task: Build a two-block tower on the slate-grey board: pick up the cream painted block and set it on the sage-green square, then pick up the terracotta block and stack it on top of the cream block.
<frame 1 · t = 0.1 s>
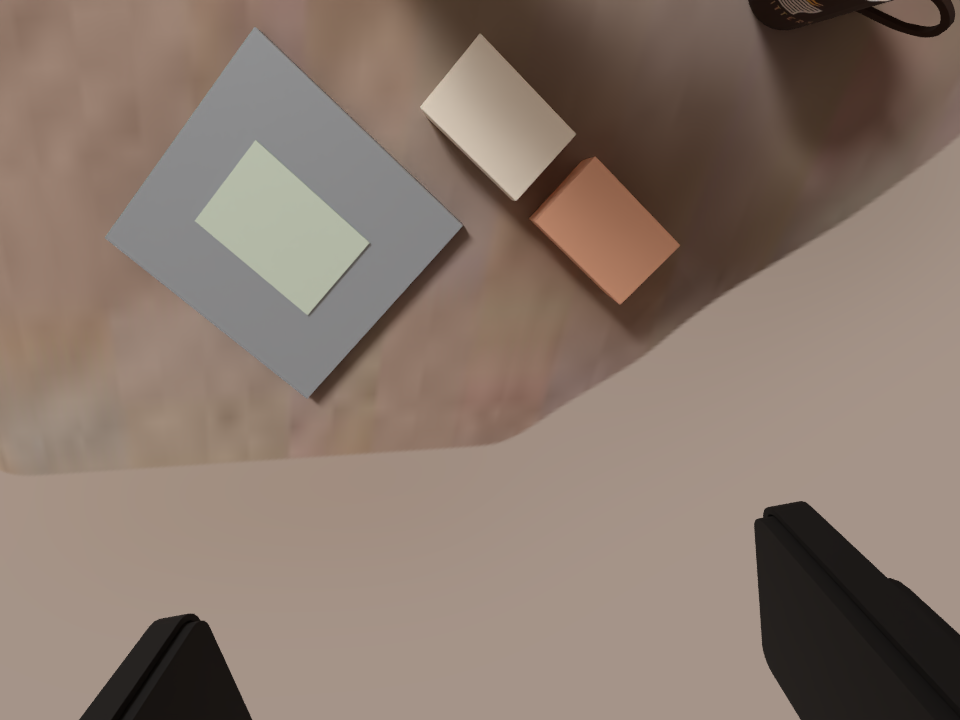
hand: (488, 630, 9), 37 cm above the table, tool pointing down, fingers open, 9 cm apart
cream block: (496, 129, 41), on the table
terracotta block: (593, 229, 43), on the table
build board: (288, 230, 43), on the table
coffee mug: (795, 2, 39), on the table
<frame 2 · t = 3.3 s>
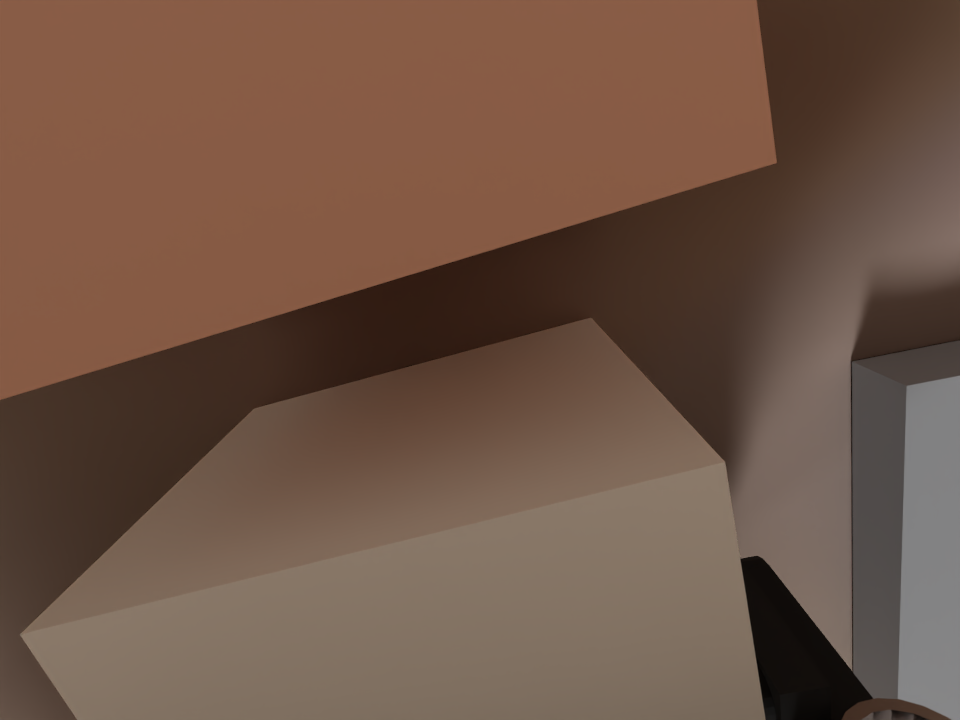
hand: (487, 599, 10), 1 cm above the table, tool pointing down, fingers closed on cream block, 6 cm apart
cream block: (488, 575, 10), on the table, touching gripper
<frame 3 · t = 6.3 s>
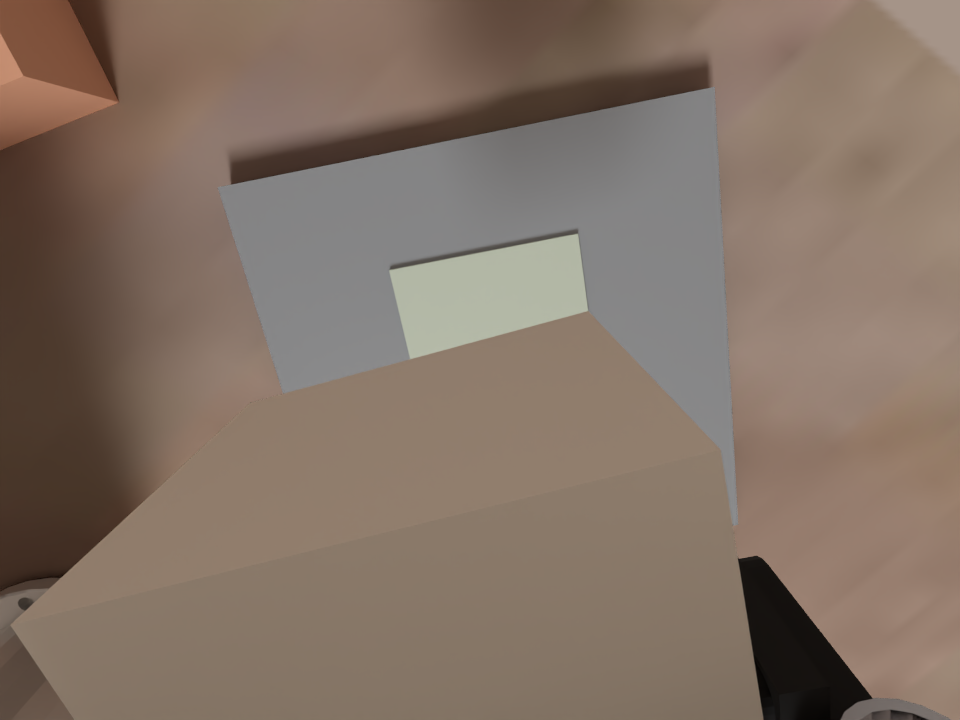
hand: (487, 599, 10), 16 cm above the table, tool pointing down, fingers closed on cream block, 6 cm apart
cream block: (485, 571, 10), point 15 cm above the table, touching gripper
build board: (503, 365, 25), on the table
when the fingers open (3 cm above the table, at t = 9.3 s): cream block stays where it is, resting on build board.
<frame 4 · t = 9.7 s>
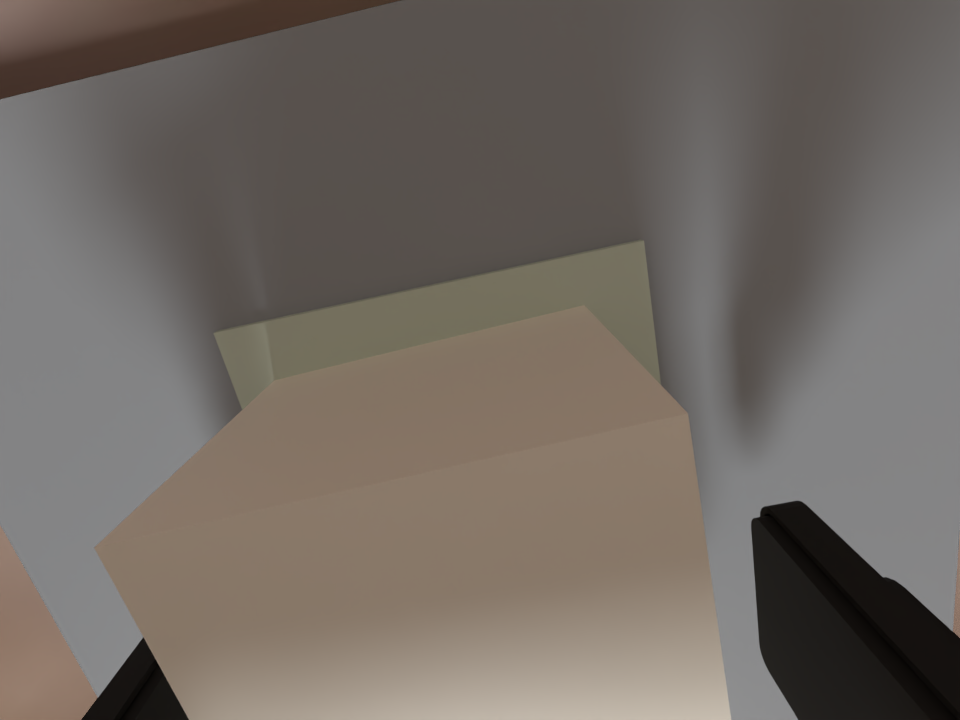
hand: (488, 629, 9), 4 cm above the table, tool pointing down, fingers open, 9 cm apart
cream block: (483, 542, 11), point 1 cm above the table, touching build board
build board: (485, 504, 13), on the table
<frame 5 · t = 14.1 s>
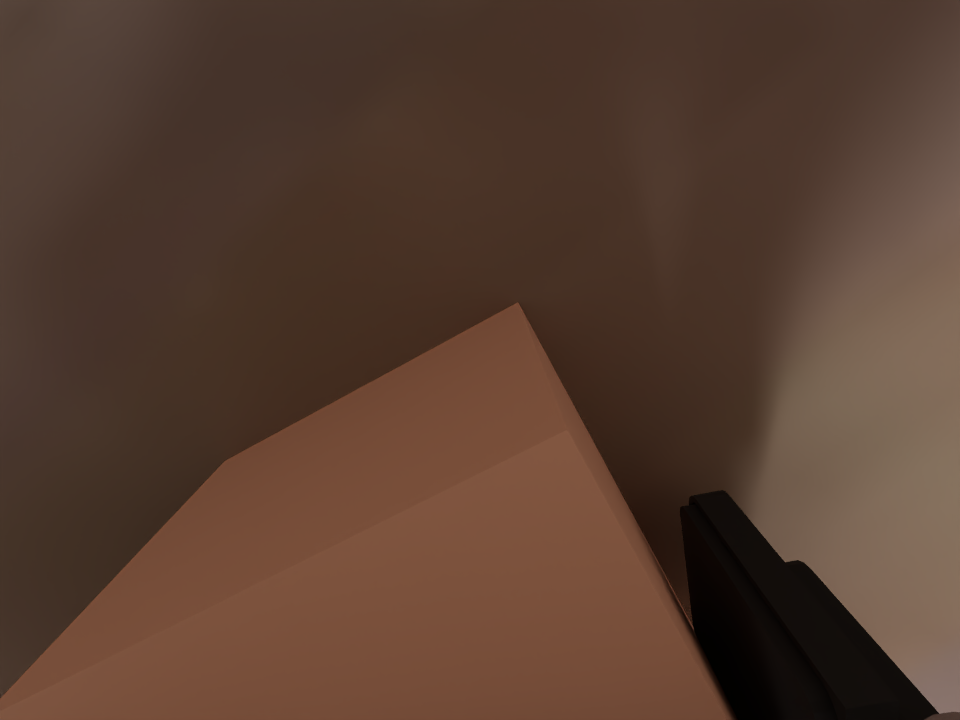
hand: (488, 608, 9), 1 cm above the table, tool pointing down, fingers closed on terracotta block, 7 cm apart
terracotta block: (489, 574, 10), on the table, touching gripper
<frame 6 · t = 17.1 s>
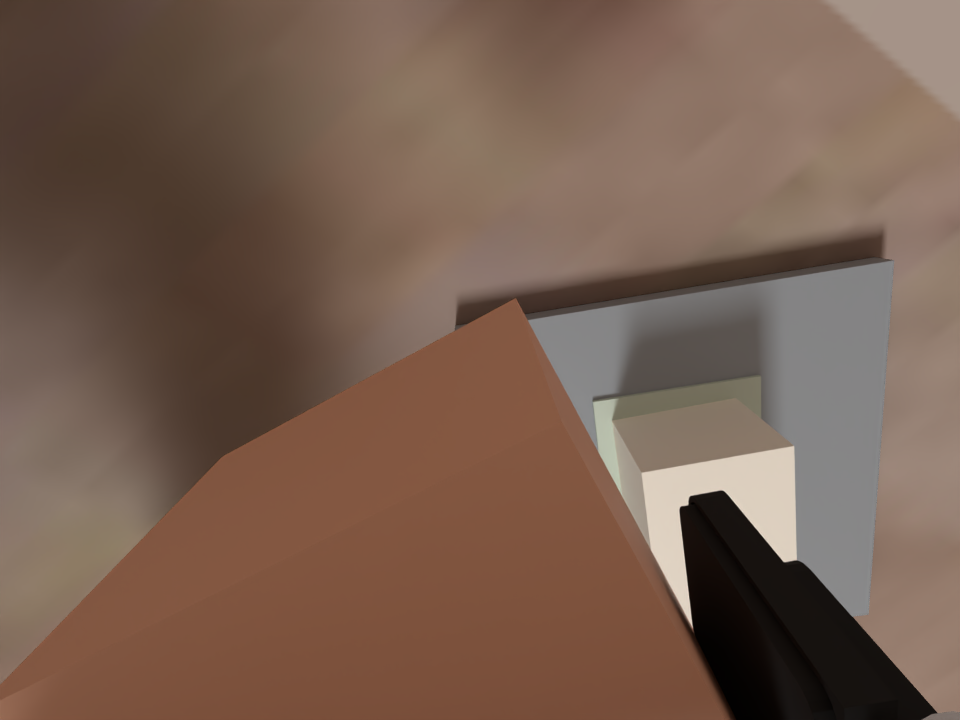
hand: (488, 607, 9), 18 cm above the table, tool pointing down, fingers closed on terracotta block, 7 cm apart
cream block: (681, 489, 27), point 1 cm above the table, touching build board
terracotta block: (486, 570, 10), point 17 cm above the table, touching gripper
build board: (672, 474, 28), on the table
when the fingers open (8 cm above the table, at t = 20.2 s): terracotta block drops 1 cm, resting on cream block.
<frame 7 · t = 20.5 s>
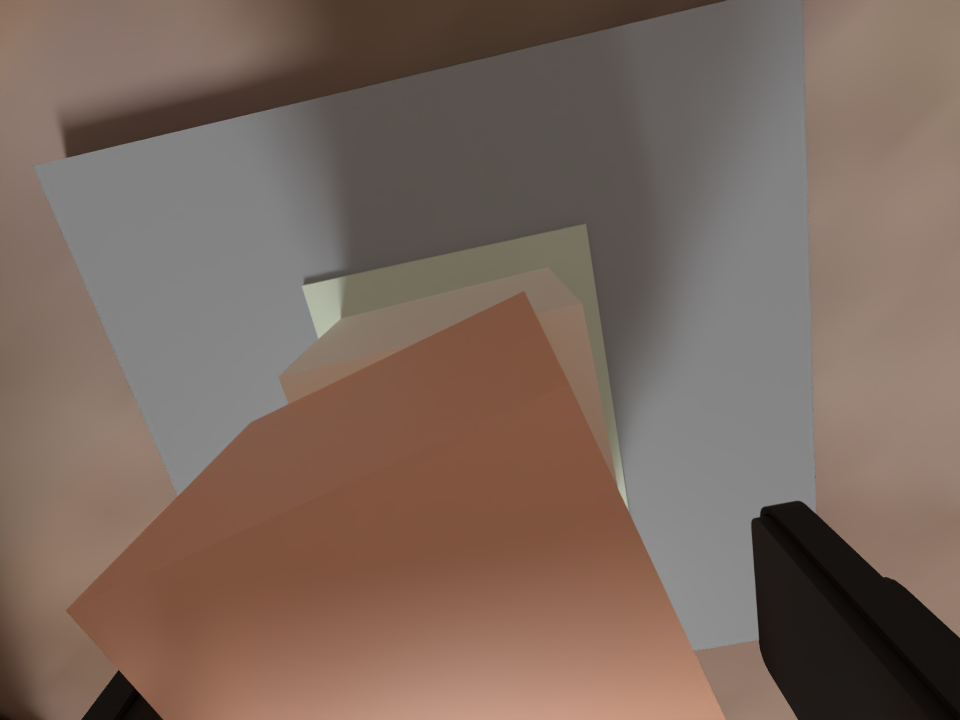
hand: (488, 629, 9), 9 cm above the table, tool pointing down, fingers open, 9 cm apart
cream block: (481, 435, 16), point 1 cm above the table, touching build board, terracotta block
terracotta block: (484, 538, 11), point 6 cm above the table, touching cream block
build board: (482, 415, 18), on the table
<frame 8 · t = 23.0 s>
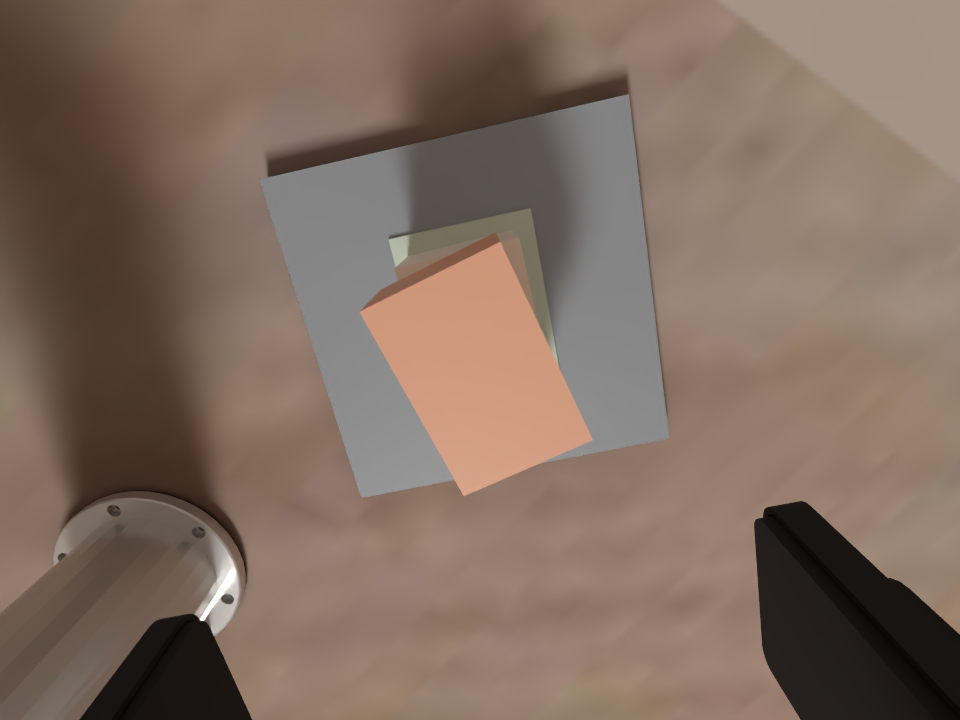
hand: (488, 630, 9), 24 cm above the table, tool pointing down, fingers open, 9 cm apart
cream block: (479, 320, 31), point 1 cm above the table, touching build board, terracotta block
terracotta block: (479, 344, 26), point 6 cm above the table, touching cream block
build board: (479, 314, 32), on the table
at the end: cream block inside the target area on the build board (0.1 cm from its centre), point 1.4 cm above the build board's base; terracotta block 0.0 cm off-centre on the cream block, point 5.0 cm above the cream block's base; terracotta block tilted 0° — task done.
